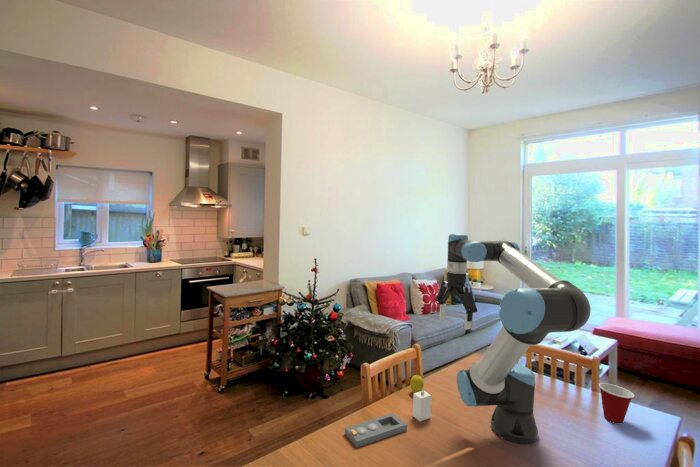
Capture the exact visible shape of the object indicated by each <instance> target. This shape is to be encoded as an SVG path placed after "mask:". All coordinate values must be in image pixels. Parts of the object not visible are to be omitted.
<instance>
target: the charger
mask: <svg viewBox="0 0 700 467" xmlns="http://www.w3.org/2000/svg"><path fill="white" fill-rule="evenodd" d="M412 399H413V401H412V402H413V403H412V405H413V406H412V417H414V418H415V419H416V421H419V422H423V421H426V420H429V419H431V415H432V414H431V411H432V409H431V408H432V395H431V393H428V392H427V391H426V390H422V391H420V392H417V393H415V392H413V398H412Z"/></svg>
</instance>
